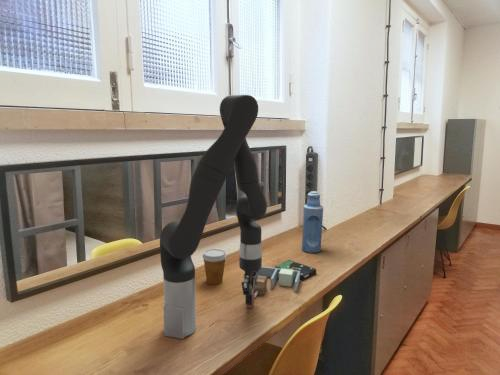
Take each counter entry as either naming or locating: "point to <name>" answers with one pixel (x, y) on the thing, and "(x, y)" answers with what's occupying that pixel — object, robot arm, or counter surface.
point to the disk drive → (298, 269)
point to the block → (286, 277)
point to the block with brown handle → (259, 288)
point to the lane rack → (275, 274)
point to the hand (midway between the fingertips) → (250, 301)
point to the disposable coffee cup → (214, 265)
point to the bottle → (312, 224)
